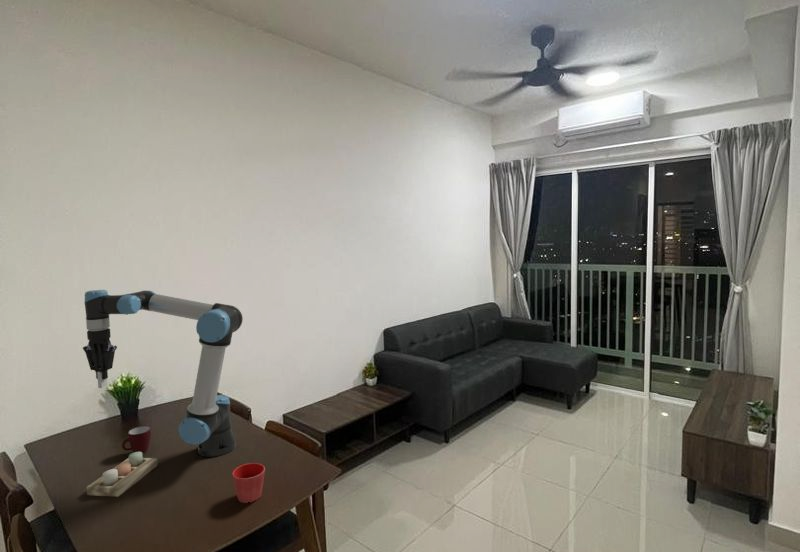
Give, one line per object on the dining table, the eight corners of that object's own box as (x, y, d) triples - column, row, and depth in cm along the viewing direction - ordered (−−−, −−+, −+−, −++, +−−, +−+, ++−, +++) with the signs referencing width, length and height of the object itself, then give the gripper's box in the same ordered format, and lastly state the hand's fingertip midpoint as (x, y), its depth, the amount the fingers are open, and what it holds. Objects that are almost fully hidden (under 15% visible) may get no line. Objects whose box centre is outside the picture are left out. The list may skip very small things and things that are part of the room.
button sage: (145, 460, 170) (144, 451, 170) (137, 466, 165) (136, 457, 165) (134, 459, 170) (134, 451, 170) (126, 465, 166) (125, 457, 165)
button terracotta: (134, 472, 163) (133, 463, 163) (125, 478, 159) (124, 469, 159) (122, 471, 164) (122, 462, 164) (113, 478, 159) (113, 469, 159)
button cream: (121, 478, 157) (120, 469, 157) (111, 485, 152) (111, 476, 152) (109, 477, 157) (109, 468, 157) (99, 484, 153) (99, 475, 152)
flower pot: (254, 484, 157) (253, 459, 156) (271, 495, 150) (270, 469, 149) (227, 498, 149) (226, 471, 148) (244, 510, 142) (243, 482, 141)
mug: (125, 461, 175) (123, 438, 174) (120, 455, 180) (119, 432, 180) (154, 452, 182) (152, 430, 181) (148, 446, 188) (147, 424, 187)
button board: (157, 465, 171) (156, 458, 171) (118, 496, 151) (117, 488, 150) (129, 464, 173) (129, 457, 172) (87, 495, 152) (86, 487, 151)
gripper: (120, 327, 171) (124, 384, 173) (91, 327, 173) (95, 383, 175) (106, 331, 164) (110, 390, 166) (75, 330, 165) (79, 389, 167)
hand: (102, 386), depth 170 cm, fingers closed
